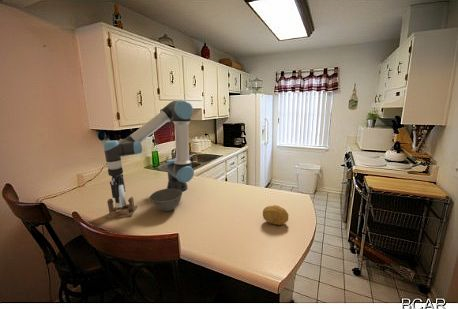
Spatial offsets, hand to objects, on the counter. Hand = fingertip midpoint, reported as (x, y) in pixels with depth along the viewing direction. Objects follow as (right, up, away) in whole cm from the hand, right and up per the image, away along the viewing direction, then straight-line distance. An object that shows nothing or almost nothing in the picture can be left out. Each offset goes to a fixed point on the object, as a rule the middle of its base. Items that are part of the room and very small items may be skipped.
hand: (121, 204), depth 129 cm
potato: (+89, -6, -16) cm, 90 cm away
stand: (0, -5, +1) cm, 5 cm away
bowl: (+27, -4, +3) cm, 28 cm away
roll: (0, 0, 0) cm, 0 cm away
